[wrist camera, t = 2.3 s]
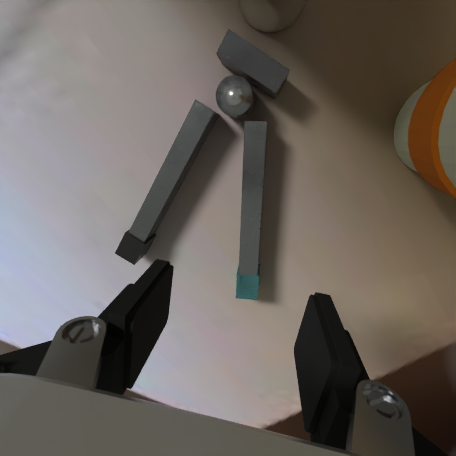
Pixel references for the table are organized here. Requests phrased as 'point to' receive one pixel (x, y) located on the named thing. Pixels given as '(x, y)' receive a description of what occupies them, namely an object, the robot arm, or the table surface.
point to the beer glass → (271, 13)
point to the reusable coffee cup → (430, 131)
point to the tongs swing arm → (247, 180)
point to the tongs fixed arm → (197, 141)
